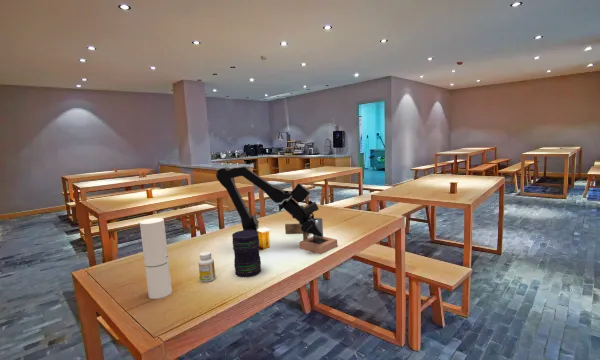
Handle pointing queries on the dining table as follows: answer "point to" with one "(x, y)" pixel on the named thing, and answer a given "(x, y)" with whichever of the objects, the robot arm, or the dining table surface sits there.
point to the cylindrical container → (156, 257)
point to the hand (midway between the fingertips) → (321, 232)
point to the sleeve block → (318, 245)
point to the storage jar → (246, 253)
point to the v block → (295, 230)
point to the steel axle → (319, 226)
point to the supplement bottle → (206, 267)
